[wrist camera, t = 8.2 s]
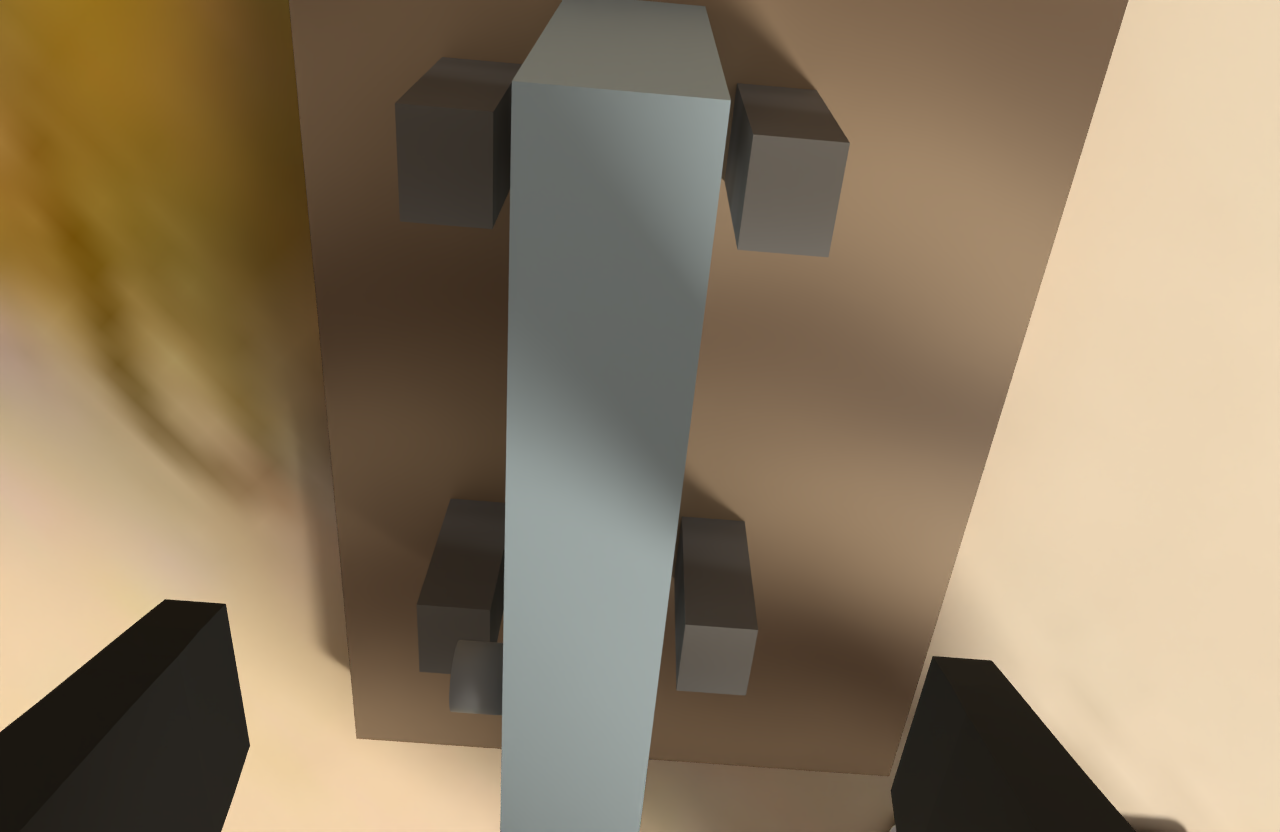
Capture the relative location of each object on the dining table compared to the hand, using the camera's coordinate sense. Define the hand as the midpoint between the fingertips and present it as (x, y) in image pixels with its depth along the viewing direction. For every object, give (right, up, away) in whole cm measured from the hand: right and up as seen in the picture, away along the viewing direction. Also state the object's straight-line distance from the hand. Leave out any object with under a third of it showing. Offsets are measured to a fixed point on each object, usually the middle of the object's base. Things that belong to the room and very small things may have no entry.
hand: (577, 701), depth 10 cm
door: (0, +4, +7) cm, 8 cm away
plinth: (+1, +5, +8) cm, 9 cm away
